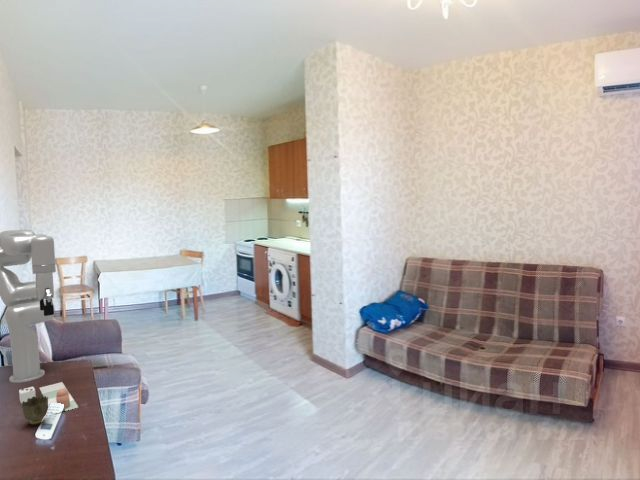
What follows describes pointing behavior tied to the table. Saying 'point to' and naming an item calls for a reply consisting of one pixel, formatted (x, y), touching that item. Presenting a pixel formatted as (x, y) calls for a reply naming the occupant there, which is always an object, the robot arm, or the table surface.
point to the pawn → (63, 398)
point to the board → (52, 392)
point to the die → (26, 394)
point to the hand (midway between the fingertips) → (46, 312)
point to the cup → (35, 409)
